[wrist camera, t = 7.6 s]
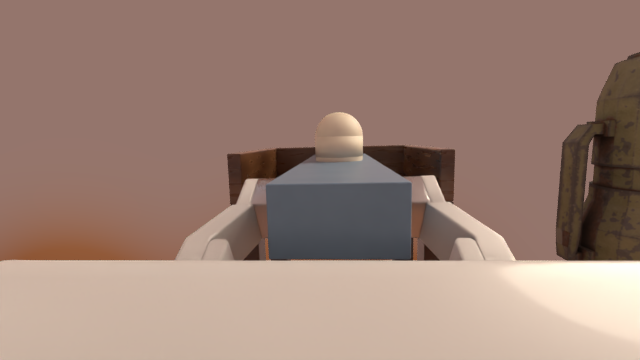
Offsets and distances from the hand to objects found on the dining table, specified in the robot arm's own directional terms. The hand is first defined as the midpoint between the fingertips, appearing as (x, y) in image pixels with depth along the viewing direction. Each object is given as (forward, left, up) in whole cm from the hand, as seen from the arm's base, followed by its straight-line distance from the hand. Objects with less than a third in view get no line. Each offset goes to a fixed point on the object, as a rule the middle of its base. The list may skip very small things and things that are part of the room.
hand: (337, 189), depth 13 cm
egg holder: (-1, +6, -2) cm, 6 cm away
